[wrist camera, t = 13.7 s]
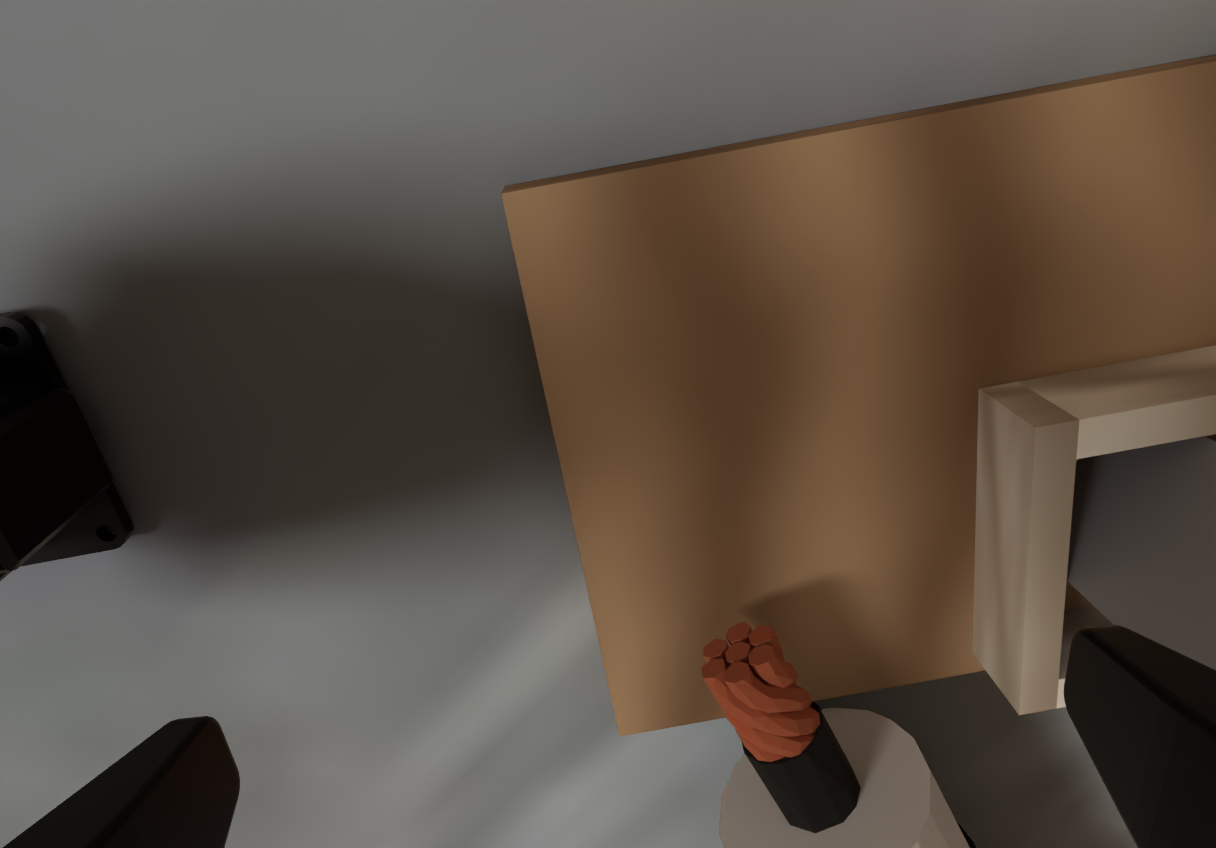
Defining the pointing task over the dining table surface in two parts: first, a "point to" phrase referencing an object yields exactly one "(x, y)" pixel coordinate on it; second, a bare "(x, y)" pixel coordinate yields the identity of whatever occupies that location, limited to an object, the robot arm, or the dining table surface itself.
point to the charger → (1150, 542)
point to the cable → (816, 762)
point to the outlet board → (870, 378)
